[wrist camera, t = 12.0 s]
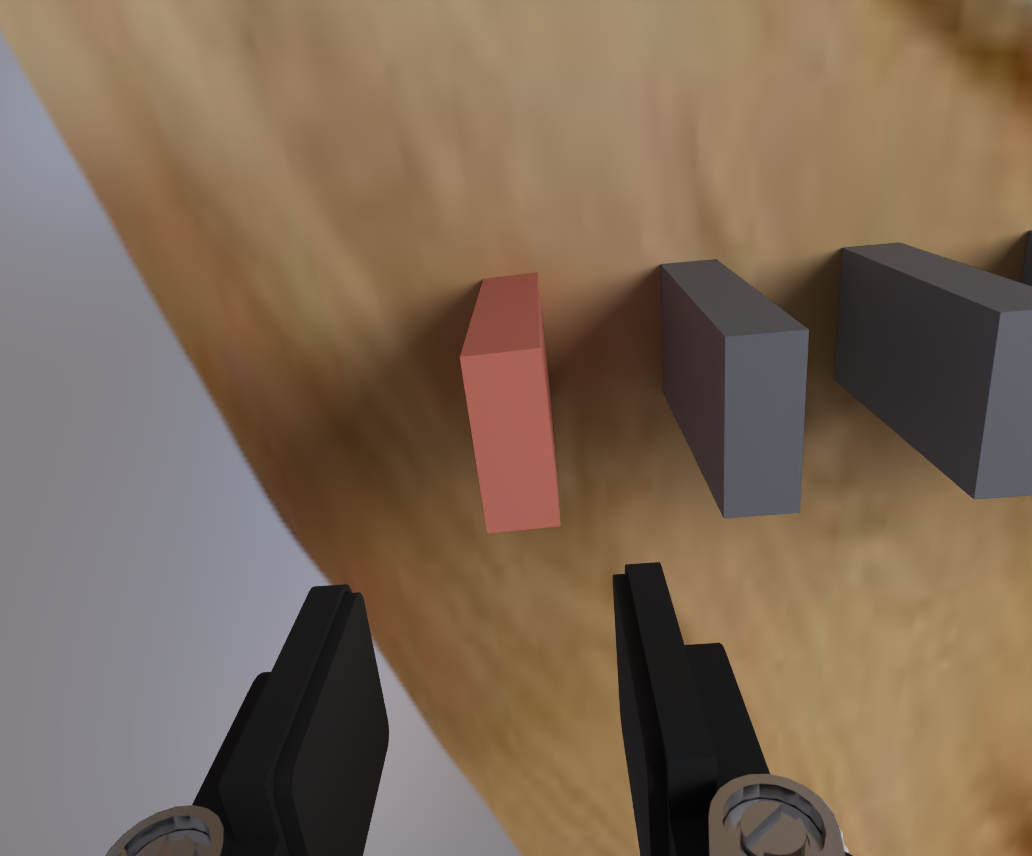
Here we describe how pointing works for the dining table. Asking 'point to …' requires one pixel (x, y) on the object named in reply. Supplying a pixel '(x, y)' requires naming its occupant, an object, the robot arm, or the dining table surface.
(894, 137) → the dining table surface
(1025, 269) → the domino
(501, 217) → the dining table surface
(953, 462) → the domino
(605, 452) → the dining table surface
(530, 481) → the red domino
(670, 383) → the domino
